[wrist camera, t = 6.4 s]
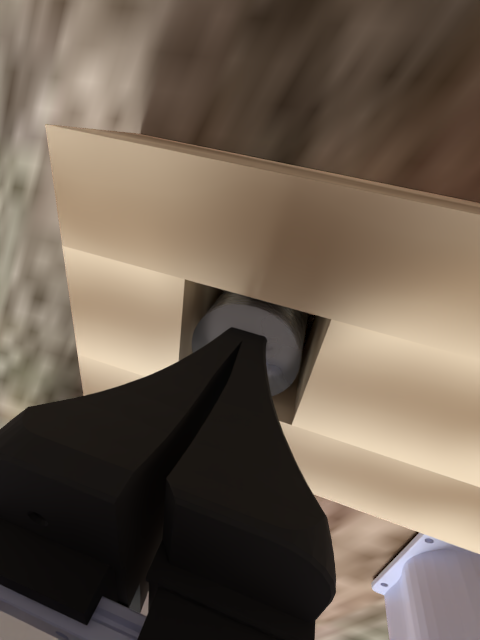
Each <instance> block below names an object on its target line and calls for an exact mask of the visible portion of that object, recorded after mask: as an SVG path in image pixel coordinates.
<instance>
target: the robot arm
mask: <svg viewBox="0 0 480 640" xmlns="http://www.w3.org/2000/svg"><path fill="white" fill-rule="evenodd" d="M266 344H267V339H266V337H265V336H261V335H258V334H254V333H251V332H247V331H244V330H241V329H237V328H234V327H231V328H229V329H227V330H226V331H225V332H223V333H222V334H221V335H219V336H218V337H216V338H215V339H214V340H212V341H211V342H209V343H208V344H206V345H205V346H203V347H201V348H200V349H198V350H197V351H195V352H194V353H192V354H190V355H188V356H187V357H185V358H183V359H181V360H180V361H178V362H176V363H174V364H172V365H170V366H168V367H166V368H164V369H162V370H160V371H158V372H155V373H153V374H151V375H148V376H146V377H143V378H140V379H137V380H135V381H132V382H129V383H126V384H123V385H121V386H117V387H114V388H111V389H107V390H104V391H101V392H97V393H93V394H89V395H85V396H81V397H77V398H72V399H67V400H62V401H57V402H52V403H47V404H42V405H37V406H31V407H28V408H26V409H25V410H24V411H22V412H21V413H20V414H19V415H17V416H16V417H15V418H13V419H12V420H11V421H10V422H9V423H7V424H6V425H5V426H4V427H3V428H1V429H0V611H2V612H4V613H6V614H8V615H10V616H12V617H15V618H17V619H19V620H21V621H23V622H25V623H27V624H29V625H31V626H33V627H35V628H37V629H39V630H41V631H43V632H45V633H47V634H49V635H51V636H53V637H55V638H57V639H60V640H314V639H315V620H316V619H317V618H318V617H319V616H320V614H321V613H322V612H323V611H324V610H325V609H326V607H327V606H328V605H329V604H330V603H331V602H332V600H333V598H334V595H335V593H336V573H335V562H334V553H333V547H332V540H331V535H330V530H329V525H328V520H327V517H326V515H325V513H324V512H323V510H322V508H321V507H320V505H319V503H318V502H317V500H316V498H315V497H314V495H313V493H312V491H311V489H310V488H309V486H308V484H307V482H306V480H305V478H304V476H303V474H302V472H301V470H300V469H299V467H298V465H297V463H296V461H295V458H294V456H293V454H292V451H291V449H290V447H289V445H288V442H287V440H286V438H285V435H284V433H283V430H282V427H281V425H280V422H279V419H278V416H277V413H276V410H275V406H274V403H273V399H272V395H271V390H270V386H269V380H268V374H267V366H266ZM371 584H372V589H373V590H374V591H375V592H377V593H380V594H382V595H384V596H385V605H386V614H387V623H388V631H389V640H480V554H478V553H475V552H472V551H469V550H467V549H464V548H461V547H458V546H455V545H453V544H450V543H447V542H444V541H442V540H439V539H436V538H433V537H431V536H428V535H425V534H422V533H418V535H417V536H416V537H415V538H414V539H413V540H412V541H411V542H410V543H409V544H408V545H407V546H406V547H405V548H404V549H403V550H402V551H401V552H400V553H399V554H398V555H397V556H396V557H395V558H394V560H393V561H392V562H391V563H390V564H389V565H388V566H387V567H386V568H385V569H384V570H383V571H382V572H381V573H380V574H379V575H378V576H377V577H376V578H375V579H374V580H373V581H372V583H371ZM148 591H149V599H148V614H147V616H145V615H143V614H140V613H141V610H142V607H143V605H144V602H145V599H146V596H147V594H148Z"/></svg>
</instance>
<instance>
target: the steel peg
mask: <svg viewBox="0 0 480 640" xmlns="http://www.w3.org/2000/svg"><path fill="white" fill-rule="evenodd" d="M307 318H308V313H306V312H302V311H299V310H295V309H292V308H288V307H284V306H281V305H277V304H273V303H270V302H266V301H262V300H259V299H255V298H251V297H248V296H244V295H240V294H237V293H233V292H229V291H226V290H224V292H223V293H222V294H221V295H220V297H219V298H218V299H217V300H216V301H215V303H214V304H213V305H212V306H211V308H210V309H209V310H208V311H207V313H206V314H205V315H204V316H203V318H202V319H201V320H200V321H199V323H198V324H197V326H196V328H195V330H194V333H193V337H192V352H193V353H194V352H195V351H197V350H198V349H200V348H201V347H203V346H205V345H206V344H208V343H209V342H211V341H212V340H214V339H215V338H216V337H218V336H219V335H221V334H222V333H223V332H225V331H226V330H227V329H229V328H231V327H234V328H237V329H241V330H244V331H247V332H251V333H254V334H258V335H261V336H265V337H266V339H267V344H266V366H267V374H268V380H269V386H270V390H271V395H272V396H275V395H277V394H279V393H281V392H283V391H284V390H286V389H287V388H288V387H289V386H290V385H291V384H292V383H293V381H294V380H295V378H296V376H297V374H298V371H299V368H300V362H301V356H302V350H303V343H304V337H305V331H306V325H307Z"/></svg>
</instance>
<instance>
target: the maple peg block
mask: <svg viewBox="0 0 480 640" xmlns="http://www.w3.org/2000/svg"><path fill="white" fill-rule="evenodd" d="M45 126H46V133H47V140H48V147H49V154H50V161H51V168H52V176H53V183H54V190H55V197H56V204H57V211H58V218H59V225H60V232H61V240H62V247H63V254H64V261H65V268H66V275H67V282H68V289H69V297H70V304H71V311H72V318H73V325H74V332H75V339H76V346H77V353H78V361H79V368H80V375H81V382H82V389H83V396H85V395H89V394H93V393H97V392H101V391H104V390H107V389H111V388H114V387H117V386H121V385H123V384H126V383H129V382H132V381H135V380H137V379H140V378H143V377H146V376H148V375H151V374H153V373H155V372H158V371H160V370H162V369H164V368H166V367H168V366H170V365H172V364H174V363H176V362H178V361H180V360H181V359H183V358H185V357H187V356H188V355H190V354H192V353H193V352H192V337H193V333H194V330H195V328H196V326H197V324H198V323H199V321H200V320H201V319H202V318H203V316H204V315H205V314H206V313H207V311H208V310H209V309H210V308H211V306H212V305H213V304H214V303H215V301H216V300H217V299H218V298H219V297H220V295H221V294H222V290H226V291H229V292H233V293H237V294H240V295H244V296H248V297H251V298H255V299H259V300H262V301H266V302H270V303H273V304H277V305H281V306H284V307H288V308H292V309H295V310H299V311H302V312H306V313H310V314H313V315H316V316H315V319H314V322H313V325H312V328H311V331H310V334H309V337H308V340H307V343H306V345H305V348H304V351H303V353H302V356H301V362H300V368H299V371H298V374H297V376H296V378H295V380H294V381H293V383H292V384H291V385H290V386H289V387H288V388H287V389H286V390H284V391H283V392H281V393H279V394H277V395H275V396H272V399H273V403H274V406H275V410H276V413H277V416H278V419H279V422H280V425H281V427H282V430H283V433H284V435H285V438H286V440H287V442H288V445H289V447H290V449H291V451H292V454H293V456H294V458H295V461H296V463H297V465H298V467H299V469H300V470H301V472H302V474H303V476H304V478H305V480H306V482H307V484H308V486H309V488H310V489H311V491H312V493H313V494H314V495H317V496H320V497H322V498H325V499H328V500H331V501H334V502H336V503H339V504H342V505H345V506H347V507H350V508H353V509H356V510H358V511H361V512H364V513H367V514H370V515H372V516H375V517H378V518H381V519H383V520H386V521H389V522H392V523H394V524H397V525H400V526H403V527H406V528H408V529H411V530H414V531H417V532H419V533H422V534H425V535H428V536H431V537H433V538H436V539H439V540H442V541H444V542H447V543H450V544H453V545H455V546H458V547H461V548H464V549H467V550H469V551H472V552H475V553H478V554H480V203H477V202H472V201H467V200H463V199H458V198H453V197H448V196H443V195H438V194H433V193H428V192H423V191H418V190H413V189H408V188H403V187H399V186H394V185H389V184H384V183H379V182H374V181H369V180H364V179H359V178H354V177H349V176H344V175H339V174H335V173H330V172H325V171H320V170H315V169H310V168H305V167H300V166H295V165H290V164H285V163H280V162H276V161H271V160H266V159H261V158H256V157H251V156H246V155H241V154H236V153H231V152H226V151H221V150H216V149H212V148H207V147H202V146H197V145H192V144H187V143H182V142H177V141H172V140H167V139H162V138H157V137H152V136H148V135H143V134H136V133H126V132H116V131H106V130H97V129H87V128H77V127H67V126H57V125H48V124H45Z"/></svg>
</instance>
